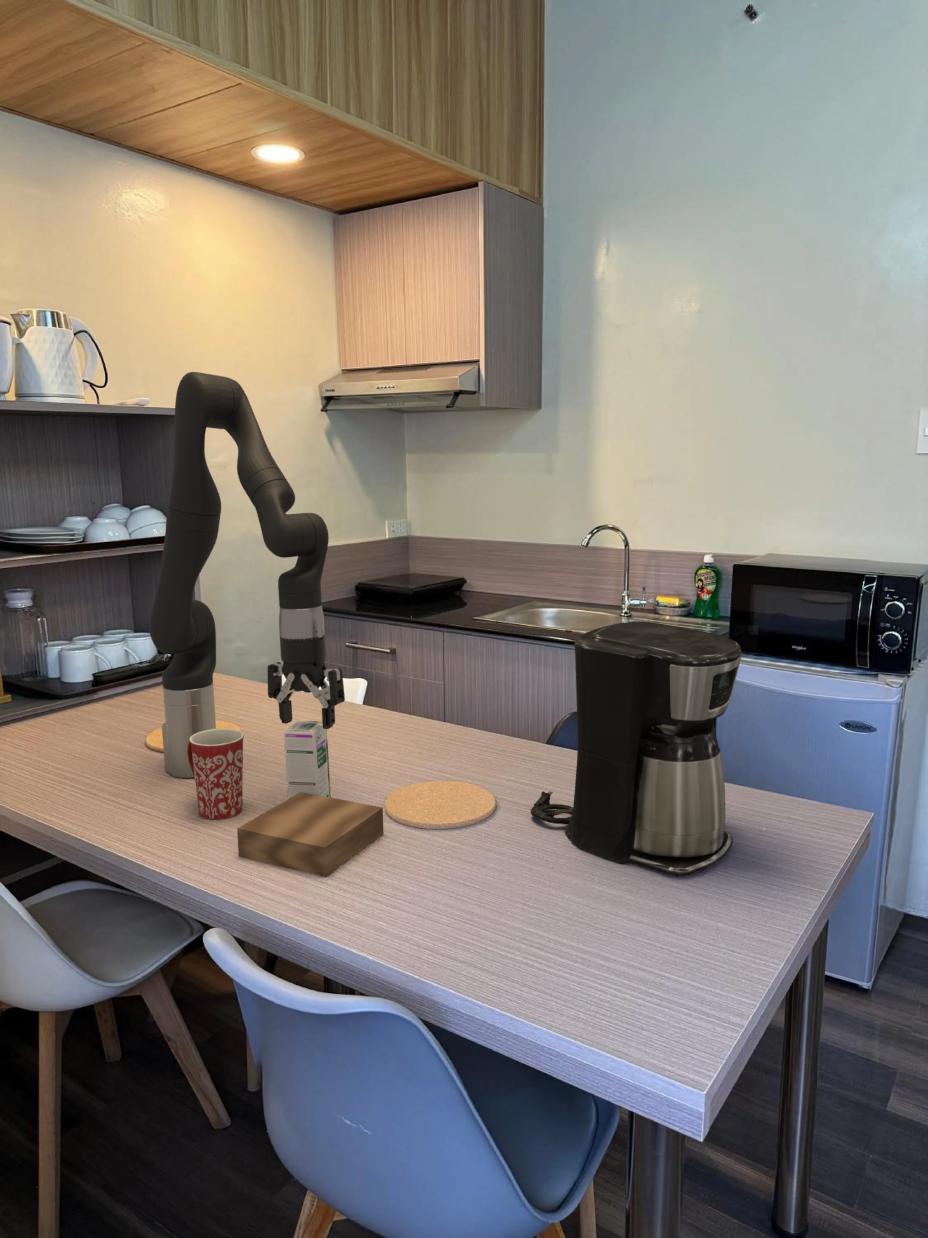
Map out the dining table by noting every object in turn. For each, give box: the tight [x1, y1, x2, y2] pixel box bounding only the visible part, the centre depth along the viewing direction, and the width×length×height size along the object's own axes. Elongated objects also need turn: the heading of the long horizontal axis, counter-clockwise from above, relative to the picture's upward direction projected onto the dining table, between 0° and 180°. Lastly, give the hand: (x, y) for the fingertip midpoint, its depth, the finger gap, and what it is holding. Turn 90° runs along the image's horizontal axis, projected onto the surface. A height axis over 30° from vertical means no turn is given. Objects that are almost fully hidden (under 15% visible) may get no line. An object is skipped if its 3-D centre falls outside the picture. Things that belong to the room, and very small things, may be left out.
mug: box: [187, 728, 245, 820], centre depth 149 cm, size 13×9×14 cm
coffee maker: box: [530, 620, 742, 877], centre depth 133 cm, size 23×32×34 cm
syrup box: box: [283, 720, 332, 799], centre depth 150 cm, size 6×6×14 cm
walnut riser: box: [236, 792, 384, 878], centre depth 135 cm, size 16×16×5 cm
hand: (307, 725), depth 149 cm, fingers open, 8 cm apart
